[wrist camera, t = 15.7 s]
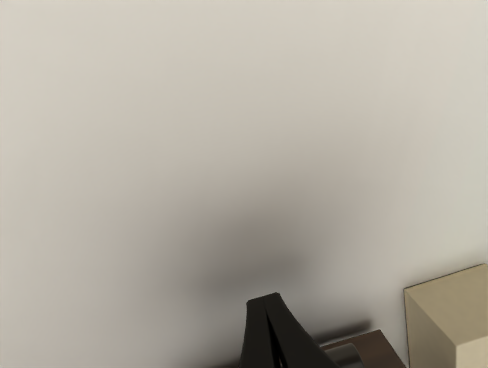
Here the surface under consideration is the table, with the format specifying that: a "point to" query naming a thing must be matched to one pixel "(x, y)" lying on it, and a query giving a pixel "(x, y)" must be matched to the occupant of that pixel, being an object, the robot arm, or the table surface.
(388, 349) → the drawer
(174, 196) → the table surface
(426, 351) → the beige rectangular block
